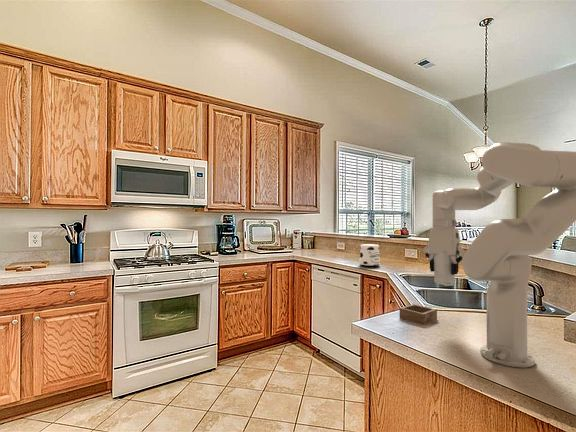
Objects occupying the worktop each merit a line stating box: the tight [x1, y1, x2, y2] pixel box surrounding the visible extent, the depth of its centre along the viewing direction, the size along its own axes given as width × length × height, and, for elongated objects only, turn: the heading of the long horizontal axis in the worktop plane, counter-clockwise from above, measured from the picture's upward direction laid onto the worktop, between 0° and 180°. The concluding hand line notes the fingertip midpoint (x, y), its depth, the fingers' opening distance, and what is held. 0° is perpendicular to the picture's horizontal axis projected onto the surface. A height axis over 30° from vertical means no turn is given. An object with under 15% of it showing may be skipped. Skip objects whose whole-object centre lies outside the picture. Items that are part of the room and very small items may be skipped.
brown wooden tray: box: [399, 303, 438, 326], centre depth 124 cm, size 10×10×4 cm
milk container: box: [358, 243, 381, 267], centre depth 264 cm, size 17×17×18 cm
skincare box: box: [433, 252, 455, 287], centre depth 115 cm, size 6×4×12 cm
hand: (443, 272), depth 115 cm, fingers closed on skincare box, 7 cm apart
